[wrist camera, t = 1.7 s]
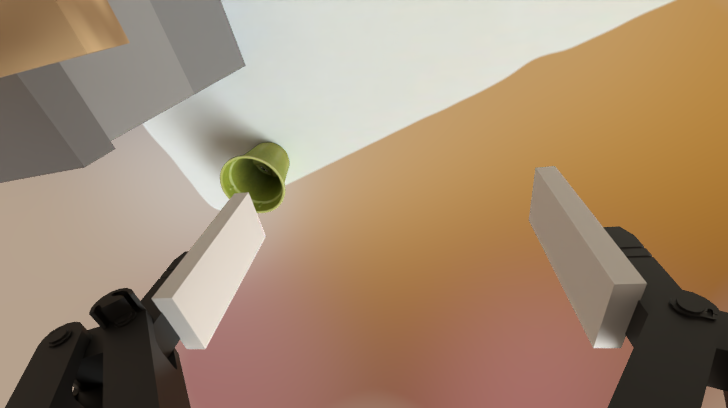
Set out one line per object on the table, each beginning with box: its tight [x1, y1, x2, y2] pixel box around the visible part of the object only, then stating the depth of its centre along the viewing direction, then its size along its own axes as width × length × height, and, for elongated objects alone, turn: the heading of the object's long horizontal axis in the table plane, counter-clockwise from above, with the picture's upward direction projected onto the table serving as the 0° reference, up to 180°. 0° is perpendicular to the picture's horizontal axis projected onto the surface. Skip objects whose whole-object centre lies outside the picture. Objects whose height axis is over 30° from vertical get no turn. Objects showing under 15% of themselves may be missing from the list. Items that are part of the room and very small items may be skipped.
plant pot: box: [220, 142, 289, 213], centre depth 52 cm, size 9×9×9 cm
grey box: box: [0, 0, 245, 183], centre depth 33 cm, size 17×17×30 cm
